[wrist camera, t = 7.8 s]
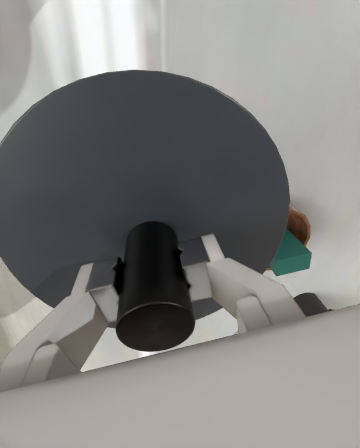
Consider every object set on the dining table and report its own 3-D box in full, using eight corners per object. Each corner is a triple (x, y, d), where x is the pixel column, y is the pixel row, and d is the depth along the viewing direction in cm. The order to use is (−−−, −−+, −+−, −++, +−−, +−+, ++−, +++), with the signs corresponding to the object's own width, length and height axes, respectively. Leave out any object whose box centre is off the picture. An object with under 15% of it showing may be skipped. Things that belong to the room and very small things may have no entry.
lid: (163, 336, 16) (170, 439, 12) (-50, 246, 11) (-213, 380, 6) (321, 213, 12) (432, 292, 8) (123, -42, 7) (63, -401, 2)
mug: (284, 315, 54) (316, 367, 44) (291, 294, 50) (328, 346, 40) (323, 310, 55) (363, 360, 45) (333, 289, 51) (379, 338, 41)
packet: (250, 227, 39) (277, 261, 31) (279, 220, 39) (311, 252, 31) (251, 241, 40) (276, 276, 33) (278, 234, 40) (309, 268, 33)
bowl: (218, 243, 40) (224, 257, 37) (259, 187, 35) (271, 197, 32) (266, 263, 44) (277, 277, 41) (309, 215, 40) (325, 226, 36)
